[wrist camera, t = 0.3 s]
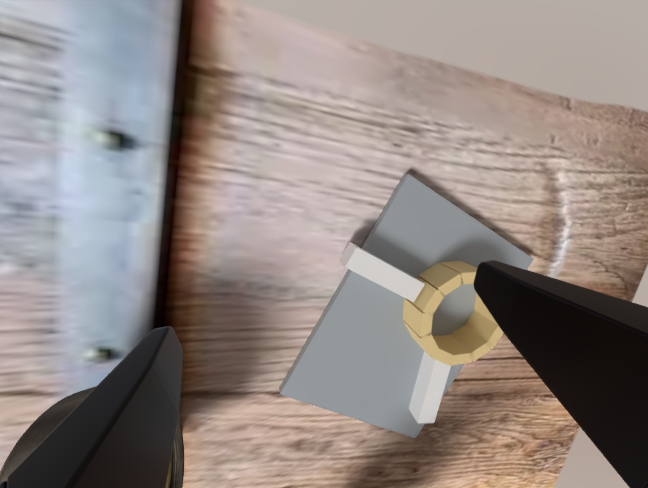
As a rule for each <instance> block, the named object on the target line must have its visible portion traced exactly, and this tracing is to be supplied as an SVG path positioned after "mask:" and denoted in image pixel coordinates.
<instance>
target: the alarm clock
mask: <svg viewBox="0 0 648 488" xmlns="http://www.w3.org/2000/svg"><path fill="white" fill-rule="evenodd" d="M96 387H97V386H96ZM96 387H93V388H90V389H87V390H83V391H80V392H77V393H75V394H72V395H70V396H68V397H66V398H64V399H62V400H60V401H59V402H57V403H56V404H54V405H53V406H51V407H50V408H49V409H48V410H47V411H45V412H44V413H43V414H42V415H41V416H40V417H39V418H38V419H37V420H36V421H35V422H34V423H33V424H32V425H31V426H30V427H29V428H28V429H27V431H26V432H25V433H24V434H23V435H22V437H21V438H20V439H19V440H18V442H17V443H16V445H15V446H14V448H13V450H12V451H11V453H10V454H9V456H8V458H7V459H6V461H5V463H4V465H3V467H2V469H1V471H0V483H1V482H3V481H7V477H8V475H9V474H10V473H11V472H12V471H13V470H14V469H15V468H16V467H17V466H18V465H19V464H20V463H21V462H22V461H23V460H24V459H25V458H26V457H27V456H28V455H29V454H30V453H31V452H32V451H33V450H34V449H35V448H36V447H37V446H38V445H39V444H40V443H41V442H42V441H43V440H44V439H45V438H46V437H47V436H48V435H49V434H50V433H51V432H52V431H53V430H54V429H55V428H56V427H57V426H58V425H59V424H60V423H61V422H62V421H63V420H64V419H65V418H66V417H67V416H68V415H69V414H70V413H71V412H72V411H73V410H74V409H75V408H76V407H77V406H78V405H79V404H80V403H81V402H82V401H83V400H84V399H85V398H86V397H87V396H88V395H89V394H90V393H91V392H92V391H93V390H94V389H95V388H96ZM183 476H184V444H183V436H182V430H181V425H180V420H179V416H178V423H177V428H176V434H175V439H174V445H173V450H172V455H171V461H170V466H169V472H168V477H167V482H166V488H182V487H183Z"/></svg>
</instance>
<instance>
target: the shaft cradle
mask: <svg viewBox="0 0 648 488" xmlns="http://www.w3.org/2000/svg"><path fill="white" fill-rule="evenodd" d="M489 260H495V261H499V262H502V263H505V264H508V265H512V266H515V267H518V268H521V269H525V270H527V269H528V267H529V265H530V264H531V262H532V261H533V258H532V257H530V256H529V255H527V254H526V253H524V252H523V251H521V250H520V249H518V248H517V247H515V246H514V245H512V244H511V243H510V242H508V241H507V240H505V239H504V238H502V237H501V236H499V235H498V234H496V233H495V232H493V231H492V230H490V229H489V228H487V227H486V226H484V225H483V224H482V223H480V222H479V221H477V220H476V219H474V218H473V217H471V216H470V215H468V214H467V213H465V212H464V211H462V210H461V209H459V208H458V207H457V206H455V205H454V204H452V203H451V202H449V201H448V200H446V199H445V198H443V197H442V196H440V195H439V194H437V193H436V192H434V191H433V190H431V189H430V188H429V187H427V186H426V185H424V184H423V183H421V182H420V181H418V180H417V179H415V178H414V177H412V176H411V175H409V174H404V175H403V177H402V179H401V180H400V182H399V184H398V186H397V187H396V189H395V191H394V192H393V194H392V196H391V198H390V199H389V201H388V203H387V204H386V206H385V208H384V210H383V211H382V213H381V215H380V216H379V218H378V220H377V222H376V223H375V225H374V227H373V228H372V230H371V232H370V234H369V235H368V237H367V239H366V240H365V242H364V244H363V246H362V247H361V248H360V247H359V246H357V245H355V244H353V243H351V242H349V244H348V246H347V248H346V249H345V251H344V253H343V254H342V256H341V258H340V260H339V261H340V262H341V263H342V265H343V266H344V267H345V268H347V269H349V270H348V271H347V273H346V275H345V276H344V278H343V280H342V281H341V283H340V285H339V287H338V288H337V290H336V292H335V293H334V295H333V297H332V299H331V300H330V302H329V304H328V305H327V307H326V309H325V311H324V312H323V314H322V316H321V317H320V319H319V321H318V323H317V324H316V326H315V328H314V329H313V331H312V333H311V335H310V336H309V338H308V340H307V341H306V343H305V345H304V347H303V348H302V350H301V352H300V353H299V355H298V357H297V359H296V360H295V362H294V364H293V365H292V367H291V369H290V371H289V372H288V374H287V376H286V377H285V379H284V381H283V383H282V384H281V386H280V388H279V389H280V394H281V395H284V396H287V397H290V398H293V399H296V400H299V401H302V402H305V403H308V404H311V405H315V406H318V407H321V408H324V409H327V410H330V411H333V412H336V413H339V414H342V415H345V416H348V417H351V418H354V419H357V420H360V421H363V422H366V423H369V424H373V425H376V426H379V427H382V428H385V429H388V430H391V431H394V432H397V433H400V434H403V435H406V436H409V437H412V438H416V437H417V435H418V434H419V432H420V431H421V429H422V428H423V426H424V425H425V423H434V422H435V419H436V415H437V412H438V409H439V405H440V402H441V399H442V397H443V396H444V394H445V393H446V391H447V390H448V388H449V387H450V385H451V384H452V382H453V381H454V379H455V378H456V376H457V375H458V373H459V372H460V370H461V369H462V367H463V366H464V364H465V363H472V361H473V362H474V361H475V360H477V359H478V358H480V357H481V356H483V355H484V354H486V353H487V352H489V351H490V350H492V347H495V345H496V344H497V342H498V341H499V339H500V338H501V336H502V335H503V331H502V330H501V328H500V327H499V326H498V324H497V323H496V321H495V320H494V318H493V317H492V315H491V314H490V312H489V311H488V309H487V308H486V306H485V305H484V303H483V302H482V300H481V299H480V297H479V296H478V294H477V293H476V291H475V289H474V285H473V283H474V279H475V275H476V271H477V267H478V265H479V263H481V262H484V261H489Z"/></svg>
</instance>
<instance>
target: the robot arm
mask: <svg viewBox="0 0 648 488" xmlns="http://www.w3.org/2000/svg"><path fill="white" fill-rule="evenodd" d="M473 285H474V289H475V291H476V293H477V294H478V296H479V297H480V299H481V300H482V302H483V303H484V305H485V306H486V308H487V309H488V311H489V312H490V314H491V315H492V317H493V318H494V320H495V321H496V323H497V324H498V326H499V327H500V328H501V330H502V331H503V333H504V334H505V335H506V336H507V338H508V339H509V340H510V341H511V343H512V344H513V345H514V346H515V347H516V349H517V350H518V351H519V352H520V354H521V355H522V356H523V357H524V359H525V360H526V361H527V362H528V363H529V365H530V366H531V367H532V368H533V370H534V371H535V372H536V373H537V374H538V376H539V377H540V378H541V379H542V381H543V382H544V383H545V384H546V385H547V387H548V388H549V389H550V390H551V392H552V393H553V394H554V395H555V397H556V398H557V399H558V400H559V401H560V403H561V404H562V405H563V406H564V408H565V409H566V410H567V411H568V412H569V414H570V415H571V416H572V417H573V419H574V420H575V421H576V422H577V424H578V425H579V426H580V427H581V428H582V430H583V431H584V432H585V433H586V435H587V436H588V437H589V438H590V439H591V441H592V442H593V443H594V444H595V446H596V447H597V448H598V449H599V450H600V451H601V453H602V454H603V455H604V457H605V458H606V459H607V460H608V461H609V463H610V464H611V465H612V466H613V468H614V469H615V470H616V471H617V473H618V474H619V475H620V476H621V477H622V479H623V480H624V481H625V482H626V483H627V485H628V486H629V487H630V488H648V307H645V306H642V305H639V304H635V303H632V302H629V301H626V300H622V299H619V298H616V297H613V296H609V295H606V294H603V293H600V292H596V291H593V290H590V289H587V288H583V287H580V286H577V285H574V284H570V283H567V282H564V281H561V280H557V279H554V278H551V277H548V276H544V275H541V274H538V273H535V272H531V271H528V270H525V269H521V268H518V267H515V266H512V265H508V264H505V263H502V262H499V261H495V260H489V261H484V262H481V263H479V265H478V267H477V271H476V275H475V279H474V283H473ZM182 365H183V350H182V346H181V344H180V342H179V340H178V338H177V335H176V333H175V331H174V329H173V328H172V327H171V326H166V327H161V328H156V329H154V330H152V331H151V332H150V333H149V334H148V335H147V336H146V337H145V338H144V339H143V340H142V341H141V342H140V343H139V344H138V345H137V346H136V347H135V348H134V349H133V350H132V351H131V352H130V353H129V354H128V355H127V356H126V357H125V358H124V359H123V360H122V361H121V362H120V363H119V364H118V365H117V366H116V367H115V368H114V369H113V370H112V371H111V372H110V373H109V374H108V376H107V377H106V378H105V379H104V380H103V381H102V382H101V383H100V384H99V385H98V386H97V387H96V388H95V389H94V390H93V391H92V392H91V393H90V394H89V395H88V396H87V397H86V398H85V399H84V400H83V401H82V402H81V403H80V404H79V405H78V406H77V407H76V408H75V409H74V410H73V411H72V412H71V413H70V414H69V415H68V416H67V417H66V418H65V419H64V420H63V421H62V422H61V423H60V424H59V425H58V426H57V427H56V428H55V429H54V430H53V431H52V432H51V433H50V434H49V435H48V436H47V437H46V438H45V439H44V440H43V441H42V442H41V443H40V444H39V445H38V446H37V447H36V448H35V449H34V450H33V451H32V452H31V453H30V454H29V455H28V456H27V457H26V458H25V459H24V460H23V461H22V462H21V463H20V464H19V465H18V466H17V467H16V468H15V469H14V470H13V471H12V472H11V473H10V474H9V475H8V477H7V481H3V482H1V483H0V488H166V482H167V477H168V472H169V466H170V461H171V455H172V450H173V445H174V439H175V434H176V428H177V423H178V416H179V407H180V394H181V379H182Z"/></svg>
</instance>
